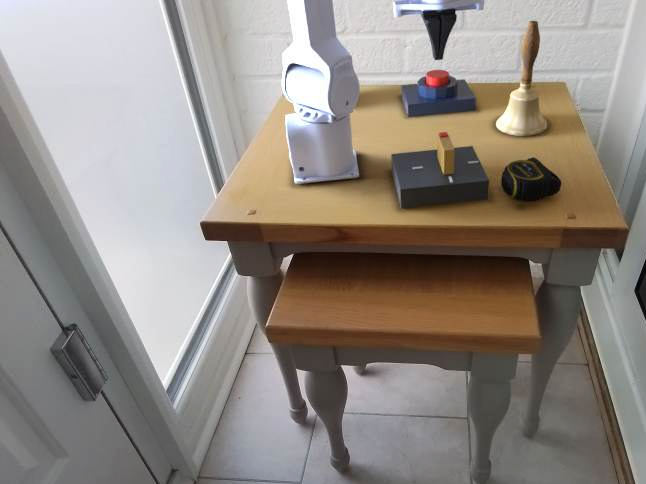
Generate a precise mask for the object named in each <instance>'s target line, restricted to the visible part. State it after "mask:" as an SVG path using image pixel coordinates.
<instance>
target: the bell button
mask: <svg viewBox="0 0 646 484" xmlns="http://www.w3.org/2000/svg"><path fill="white" fill-rule="evenodd" d="M449 75H450V72H449V71H447V70H445V69H432V70H429V71H427V72H426V73H425V76H426V84H427V85H429V86H435V87H438V86H445V85H447V84H449Z"/></svg>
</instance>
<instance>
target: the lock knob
mask: <svg viewBox="0 0 646 484" xmlns="http://www.w3.org/2000/svg"><path fill="white" fill-rule="evenodd" d="M454 148H455V147H454V145H453V142H452V140H451V137H450V134H449V133H448V131H441V132H438V133H437V149H438V150H437V149H436V150H437V157H438V160H439V163H440V166H441V169H442V172H443V174H444V175H446V174H454V153H455V150H454Z"/></svg>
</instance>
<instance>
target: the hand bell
mask: <svg viewBox="0 0 646 484" xmlns="http://www.w3.org/2000/svg"><path fill="white" fill-rule="evenodd" d="M540 44H541V34H540V29H539V22H538V21H537V20H530V21H529V22H528V25H527V27H526V29H525V32H524V35H523V38H522V44H521V58H522V71H521V79H520V85H519V88H516V89H514V90H513V91H512V92H511V93H510V96H509V99H508V104H507V107H506V109H505V111H504V112H503V114H502V115H500V116H499V118H497V120H496V121H495V126H496V128H497V130H499V131H500V132H502V133H504V134H507V135H510V136H516V137H527V136H535V135H538V134H541V133H543V132H544V131H546V130H547V128H548V122H547V120H546V119H545V117H544V116H543V115H542V113H541V109H540V94H539V92H538V91H537V90H535V89H533V88H532V83H533V71H534V66H535V62H536V60H537V57H538V54H539V51H540V46H541V45H540Z"/></svg>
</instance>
